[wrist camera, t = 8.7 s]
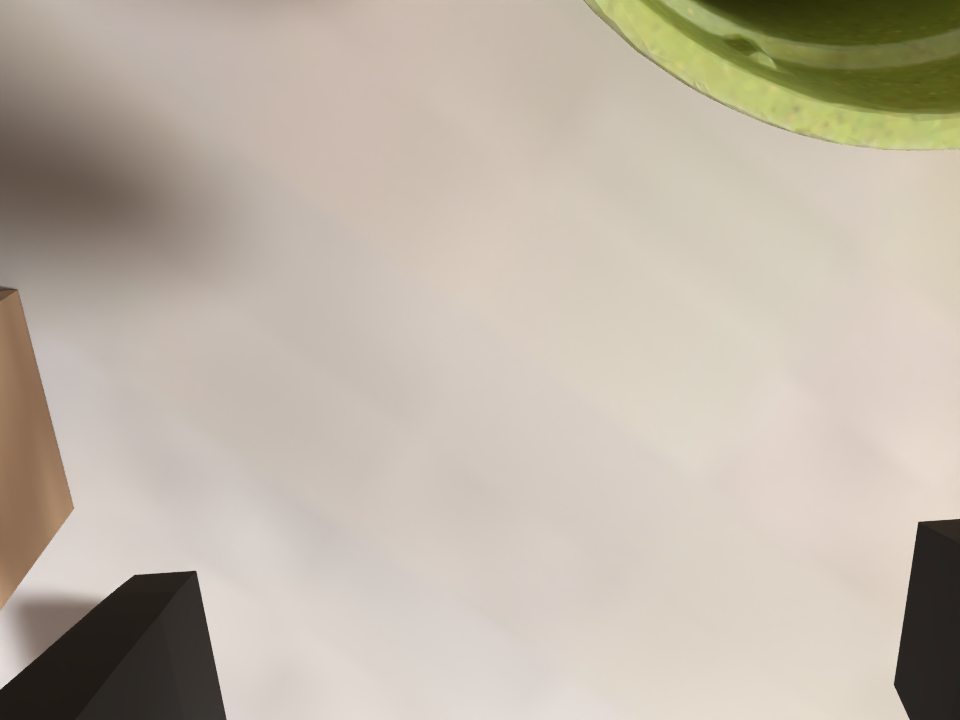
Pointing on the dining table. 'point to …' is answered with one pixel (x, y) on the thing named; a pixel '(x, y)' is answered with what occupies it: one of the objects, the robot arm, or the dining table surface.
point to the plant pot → (812, 63)
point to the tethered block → (25, 454)
